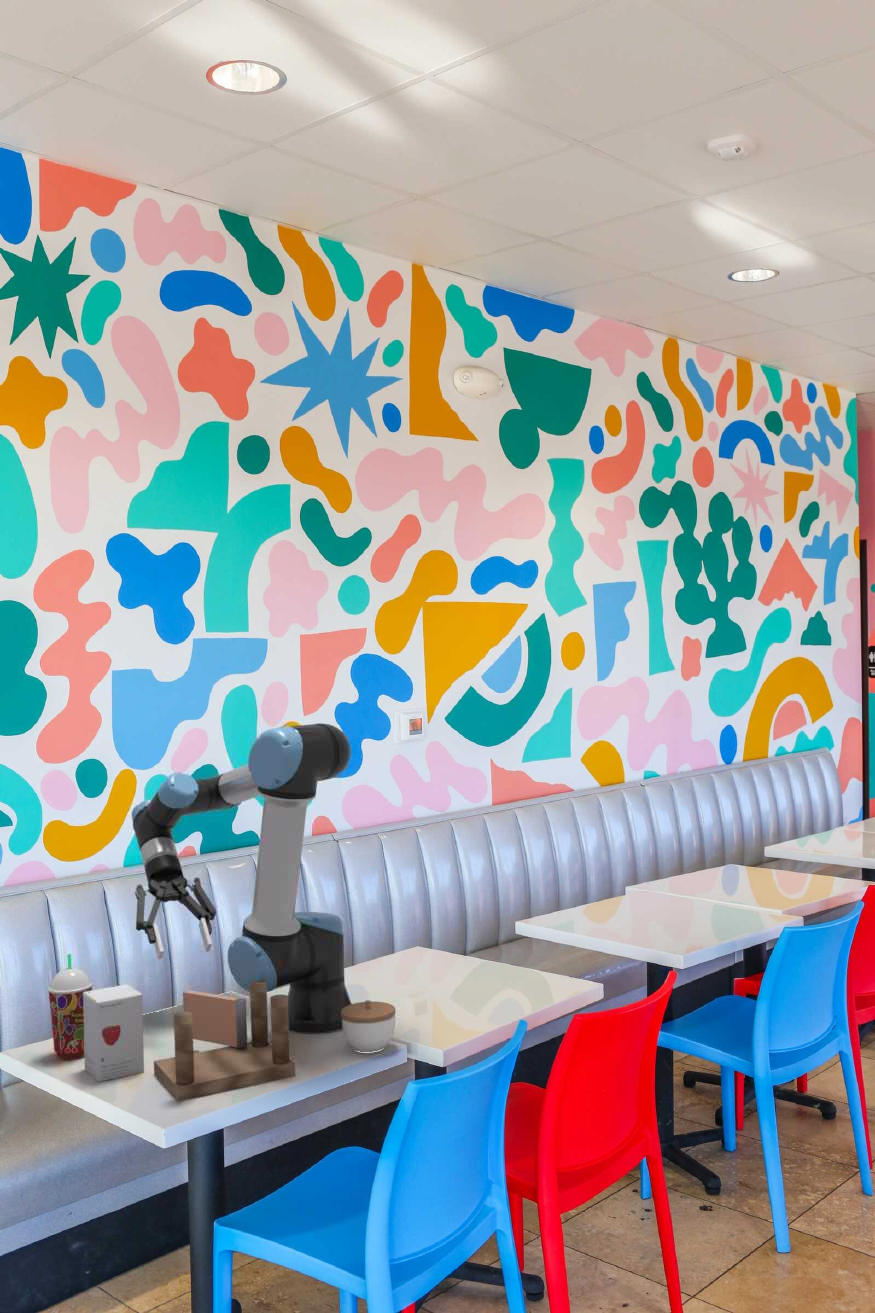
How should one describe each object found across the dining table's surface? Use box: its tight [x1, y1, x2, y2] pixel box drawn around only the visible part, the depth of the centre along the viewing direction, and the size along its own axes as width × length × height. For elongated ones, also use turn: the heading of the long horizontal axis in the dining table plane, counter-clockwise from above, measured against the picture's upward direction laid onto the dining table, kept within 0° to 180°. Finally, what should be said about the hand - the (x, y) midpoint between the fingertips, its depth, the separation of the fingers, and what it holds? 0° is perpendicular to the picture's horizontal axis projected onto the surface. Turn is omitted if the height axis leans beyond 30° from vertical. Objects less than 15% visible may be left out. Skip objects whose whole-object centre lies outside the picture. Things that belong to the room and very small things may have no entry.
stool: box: [153, 981, 296, 1102], centre depth 217 cm, size 22×16×14 cm
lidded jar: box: [341, 999, 396, 1052], centre depth 230 cm, size 11×11×9 cm
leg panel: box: [182, 989, 248, 1048], centre depth 228 cm, size 15×2×9 cm, turn 59°
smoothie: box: [47, 953, 93, 1060], centre depth 231 cm, size 8×8×20 cm
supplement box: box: [83, 984, 145, 1083], centre depth 221 cm, size 9×9×15 cm
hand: (185, 951), depth 239 cm, fingers open, 9 cm apart
